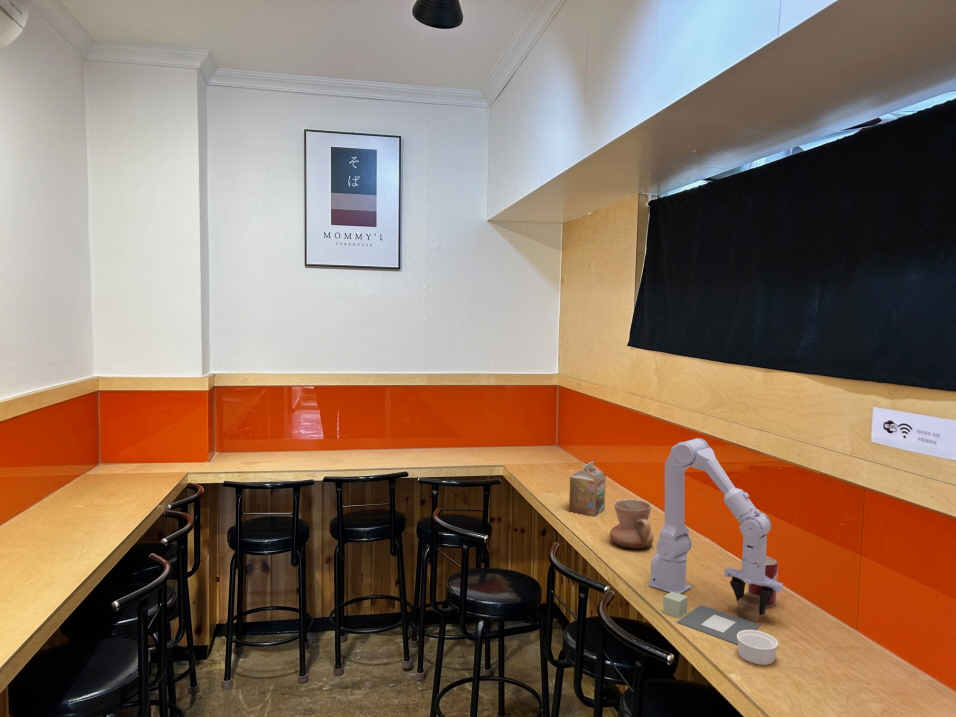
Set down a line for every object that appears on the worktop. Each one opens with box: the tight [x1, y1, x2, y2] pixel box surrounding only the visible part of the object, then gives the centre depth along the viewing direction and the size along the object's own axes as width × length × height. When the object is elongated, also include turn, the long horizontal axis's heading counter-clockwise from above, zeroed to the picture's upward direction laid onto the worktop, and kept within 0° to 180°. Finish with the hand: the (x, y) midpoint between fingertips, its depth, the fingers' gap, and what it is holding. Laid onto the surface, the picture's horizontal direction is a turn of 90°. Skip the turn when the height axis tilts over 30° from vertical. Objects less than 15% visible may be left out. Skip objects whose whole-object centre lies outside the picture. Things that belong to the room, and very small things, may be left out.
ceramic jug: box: [609, 498, 655, 549], centre depth 226 cm, size 18×14×14 cm
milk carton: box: [568, 460, 607, 518], centre depth 262 cm, size 11×11×19 cm
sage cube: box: [662, 592, 688, 619], centre depth 177 cm, size 4×4×4 cm
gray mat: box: [676, 604, 761, 646], centre depth 171 cm, size 16×14×1 cm
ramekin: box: [737, 629, 779, 666], centre depth 156 cm, size 9×9×4 cm
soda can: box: [747, 555, 779, 608], centre depth 184 cm, size 7×7×12 cm
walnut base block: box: [736, 592, 766, 624], centre depth 176 cm, size 5×7×4 cm
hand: (751, 610), depth 176 cm, fingers open, 5 cm apart
